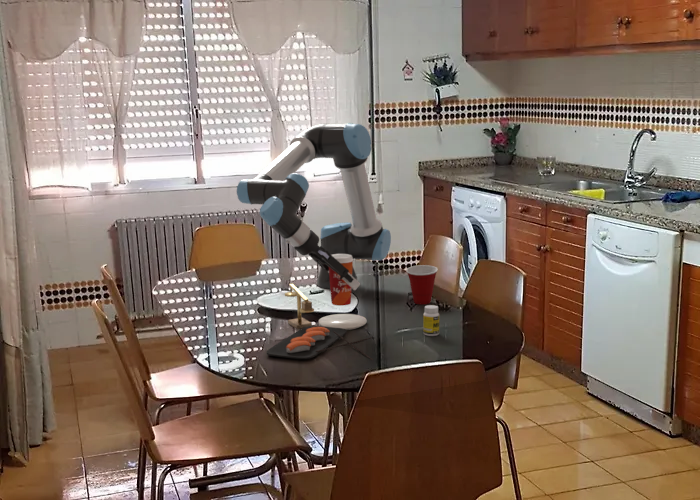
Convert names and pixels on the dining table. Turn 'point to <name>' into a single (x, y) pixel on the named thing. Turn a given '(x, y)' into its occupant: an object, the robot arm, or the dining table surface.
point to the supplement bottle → (431, 321)
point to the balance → (305, 308)
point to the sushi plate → (311, 342)
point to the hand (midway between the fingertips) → (350, 284)
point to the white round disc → (343, 321)
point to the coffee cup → (340, 281)
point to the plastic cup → (422, 282)
